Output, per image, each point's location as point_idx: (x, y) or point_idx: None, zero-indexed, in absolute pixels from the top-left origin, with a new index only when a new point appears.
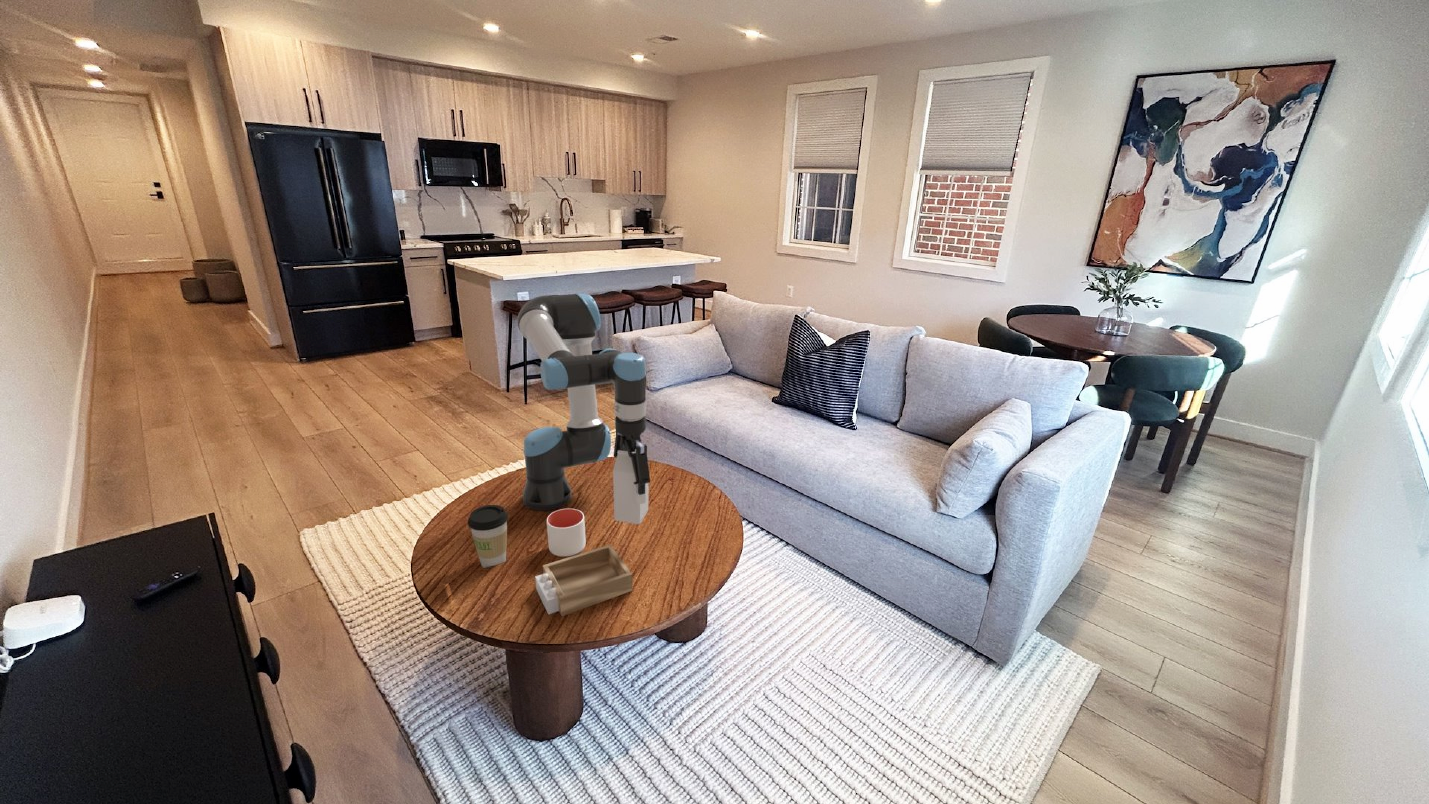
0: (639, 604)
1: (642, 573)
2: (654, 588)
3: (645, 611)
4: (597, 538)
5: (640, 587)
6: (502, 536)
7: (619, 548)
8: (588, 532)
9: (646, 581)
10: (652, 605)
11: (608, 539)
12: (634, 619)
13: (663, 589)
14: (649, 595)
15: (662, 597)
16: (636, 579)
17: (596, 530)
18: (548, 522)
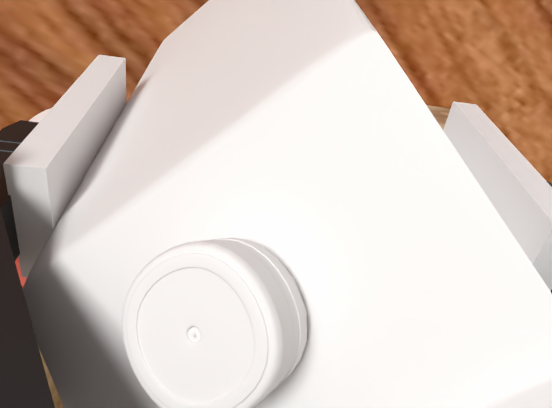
0: (504, 117)
1: (389, 17)
2: (488, 31)
3: (543, 119)
4: (74, 42)
5: (444, 69)
6: (59, 399)
7: (189, 3)
8: (14, 51)
9: (436, 32)
10: (543, 87)
11: (103, 7)
12: (538, 161)
13: (520, 6)
14: (500, 67)
15: (546, 36)
16: (400, 56)
17: (11, 15)
18: (19, 270)
